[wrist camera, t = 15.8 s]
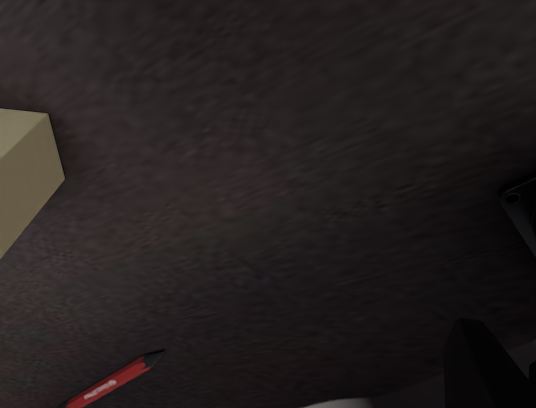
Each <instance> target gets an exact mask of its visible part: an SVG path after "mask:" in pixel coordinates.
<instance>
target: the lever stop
mask: <svg viewBox="0 0 536 408" xmlns="http://www.w3.org/2000/svg"><path fill="white" fill-rule="evenodd" d="M64 180H65V176H64V173H63V169H62V165H61V161H60V157H59V154H58V150H57V146H56V142H55V138H54V134H53V131H52V127H51V123H50V119H49V115H48V114H47V113H38V112H29V111H20V110H11V109H2V108H0V259H1V258H2V257H3V255H4V254H5V253H6V252H7V250H8V249H9V248H10V247H11V245H12V244H13V243H14V242H15V241H16V239H17V238H18V237H19V236H20V234H21V233H22V232H23V231H24V229H25V228H26V227H27V226H28V224H29V223H30V222H31V221H32V219H33V218H34V217H35V216H36V215H37V213H38V212H39V211H40V210H41V208H42V207H43V206H44V205H45V203H46V202H47V201H48V200H49V198H50V197H51V196H52V195H53V193H54V192H55V191H56V190H57V189H58V187H59V186H60V185H61V184H62V182H63V181H64Z"/></svg>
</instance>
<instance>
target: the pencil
mask: <svg viewBox="0 0 536 408" xmlns="http://www.w3.org/2000/svg"><path fill="white" fill-rule="evenodd" d="M163 353H164V352H159V353H152V354H147V355H143V356H141V357H140V358H138V359H136V360H135V361H133V362H131V363H130V364H128V365H126V366H125V367H123V368H121V369H120V370H118V371H116V372H115V373H113V374H111V375H110V376H108V377H106V378H105V379H103V380H101V381H100V382H98V383H97V384H95V385H93V386H92V387H90V388H88V389H87V390H85V391H83V392H82V393H80V394H78V395H77V396H75V397H73V398H72V399H70V400H68V401H67V402H65V403H63V404H62V405H60V406H58V408H82V407H84V406H86V405H88V404H89V403H91V402H93V401H95V400H96V399H98V398H100V397H102V396H103V395H105V394H107V393H109V392H110V391H112V390H114V389H116V388H117V387H119V386H121V385H123V384H124V383H126V382H128V381H130V380H132V379H133V378H135V377H137V376H139V375H140V374H142V373H144V372H146V371H147V370H149V369H151V368H152V367H153V366H154V364H155V363H156V362H157V361H158V359H159V358H160V357H161V356H162V354H163Z"/></svg>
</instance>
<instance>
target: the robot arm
mask: <svg viewBox="0 0 536 408" xmlns="http://www.w3.org/2000/svg"><path fill="white" fill-rule="evenodd" d="M511 194H516V196H514V197H512V198H507V197H508V196H509V195H511ZM498 198H499V200H500V203H501V205H502V206H503V208H504V209H505V211H506V213H507V214H508V216H509V217H510V219H511V220H512V222H513V223H514V225H515V226H516V228H517V229H518V231H519V232H520V234H521V235H522V237H523V239H524V240H525V242H526V243H527V245H528V246H529V248H530V249H531V251H532V252H533V254H534V255H535V257H536V172H533V173H531V174H529V175H527V176H525V177H522V178H520V179H518V180H516V181H513V182H511V183H509V184H507V185H505V186H503V187H502V188H501V189H500V190H499V192H498ZM443 362H444V383H445V405H446V408H536V361H535V362H533V363H532V364H530V366H529V380H528V379H527V377H526V376H525V375H524V374H523V372H522V371H521V370H520V369H519V367H518V366H517V365H516V363H515V362H514V361H513V360H512V358H511V357H510V356H509V355H508V354H507V352H506V351H505V349H504V348H503V347H502V346H501V344H500V343H499V342H498V341H497V339H496V338H495V337H494V335H493V334H492V333H491V332H490V330H489V329H488V328H487V327H486V325H485V324H484V323H483V322H481V321H479V320H474V319H467V318H458V319H457V320H456V321H455V323H454V325H453V327H452V330H451V332H450V334H449V336H448V338H447V341H446V343H445V346H444V352H443Z"/></svg>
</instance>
